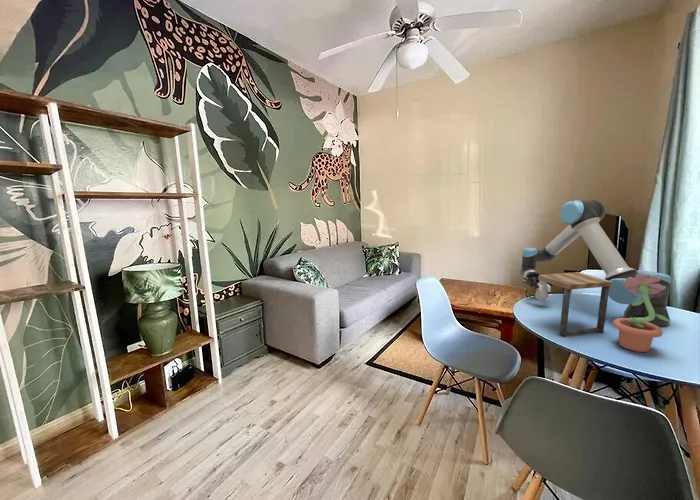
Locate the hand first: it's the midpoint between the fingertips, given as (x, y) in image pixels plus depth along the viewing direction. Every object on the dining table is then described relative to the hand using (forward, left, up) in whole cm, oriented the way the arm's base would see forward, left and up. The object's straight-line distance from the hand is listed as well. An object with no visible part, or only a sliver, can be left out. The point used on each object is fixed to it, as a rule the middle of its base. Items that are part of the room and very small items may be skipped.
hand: (545, 289), depth 150 cm
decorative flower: (-22, +34, -12) cm, 42 cm away
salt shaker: (0, -5, -8) cm, 9 cm away
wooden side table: (-4, +19, -11) cm, 23 cm away
